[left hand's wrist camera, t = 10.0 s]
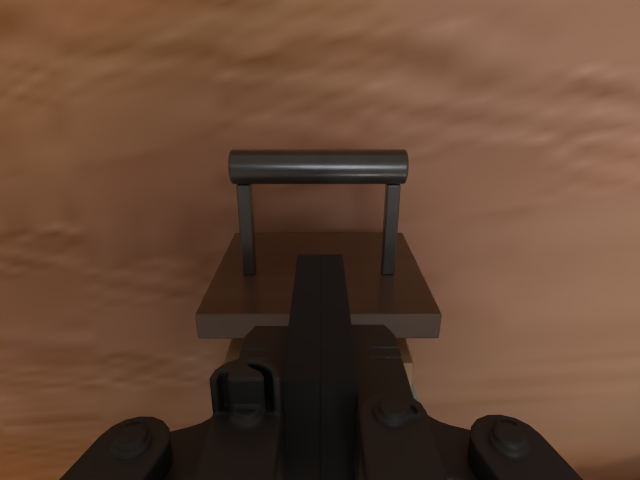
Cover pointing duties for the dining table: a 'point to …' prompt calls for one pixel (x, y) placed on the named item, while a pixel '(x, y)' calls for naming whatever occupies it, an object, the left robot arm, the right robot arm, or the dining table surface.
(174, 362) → the dining table surface
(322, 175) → the drawer
